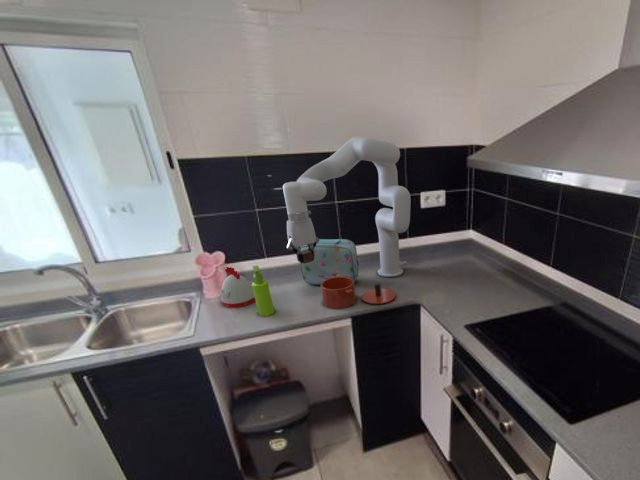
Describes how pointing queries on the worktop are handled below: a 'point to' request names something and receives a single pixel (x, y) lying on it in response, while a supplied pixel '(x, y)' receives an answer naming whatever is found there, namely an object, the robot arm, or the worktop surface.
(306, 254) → the block
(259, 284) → the soap dispenser
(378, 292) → the lid
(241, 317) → the worktop surface
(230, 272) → the kitchen timer
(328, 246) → the lunch box
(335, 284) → the pot
